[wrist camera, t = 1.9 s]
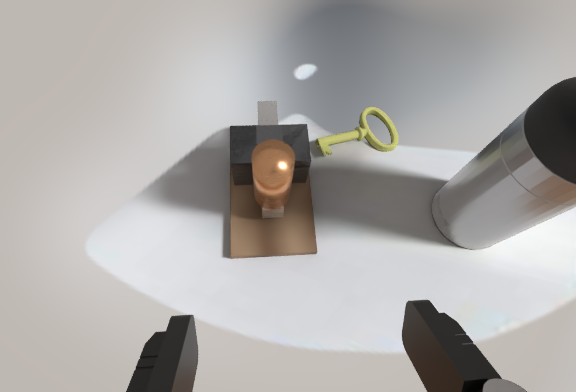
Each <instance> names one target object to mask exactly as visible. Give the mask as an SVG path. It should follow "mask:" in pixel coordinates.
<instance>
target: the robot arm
mask: <svg viewBox="0 0 576 392" xmlns="http://www.w3.org/2000/svg"><path fill="white" fill-rule="evenodd" d="M574 207H576V77H573V78H569V79H566V80H563V81H561V82H559V83H557V84H555V85H554V86H552V87H551V88H549V89H548V90H547V91H545V92H544V93H543V94H542V95H541V96H540V97H539V98H538V99H537V100H536V101H535V102H534V103H533V104H531V105H530V106H529V107H528V108H527V109H526V110H525V111H524V112H523V113H522V114H520V115H519V116H518V117H517V118H516V119H515V120H514V121H513V122H512V123H511V124H510V125H509V126H508V127H507V128H506V129H504V130H503V131H502V132H501V133H500V134H499V135H498V136H497V137H496V138H495V139H494V140H493V141H492V142H491V143H489V144H488V145H487V146H486V147H485V148H484V149H483V150H482V151H481V152H480V153H479V154H477V155H476V156H475V157H474V158H473V159H472V160H471V161H470V162H469V163H468V164H467V165H466V166H464V167H463V168H462V169H461V170H460V171H459V172H458V173H457V174H456V175H455V176H454V177H453V178H451V179H450V180H449V181H448V182H447V183H446V184H445V185H444V186H443V187H442V188H441V189H440V190H439V191H438V192H437V193H436V195H435V196H434V199H433V202H432V214H433V218H434V221H435V223H436V225H437V227H438V228H439V230H440V231H441V232H442V233H443V235H444V236H445V237H447V238H448V239H449V240H450V241H451V242H453V243H455V244H457V245H459V246H461V247H464V248H467V249H474V250H475V249H484V248H487V247H490V246H492V245H494V244H496V243H499V242H501V241H503V240H505V239H507V238H510V237H512V236H514V235H516V234H518V233H520V232H523V231H525V230H527V229H529V228H531V227H533V226H536V225H538V224H540V223H542V222H544V221H546V220H548V219H551V218H553V217H555V216H557V215H559V214H561V213H564V212H566V211H568V210H570V209H572V208H574ZM402 340H403V345H404V348H405V350H406V352H407V354H408V356H409V358H410V360H411V361H412V363H413V365H414V367H415V369H416V371H417V373H418V375H419V377H420V379H421V381H422V382H423V384H424V386H425V388H426V390H427V392H527V391H526V390H525V389H523V388H522V387H520V386H519V385H517V384H515V383H513V382H511V381H508V380H504V379H502V378H501V377H500V375H499V374H498V373H497V372H496V371H495V369H494V368H493V367H492V365H491V364H490V363H489V362H488V360H487V359H486V358H485V357H484V355H483V354H482V353H481V351H480V350H479V349H478V348H477V346H476V345H474V344H473V341H472V340H471V339H470V338H469V336H468V335H466V332H465V331H464V330H463V329H462V327H461V326H460V325H459V324H458V322H457V321H455V320H454V319H452V318H451V317H450V316H448V315H447V314H445V313H439V312H438V311H437V310H436V308H435V307H434V306H433V304H432V303H431V302H430V301H429V300H416V301H408V302H407V303H406V308H405V315H404V322H403V329H402ZM197 364H198V345H197V336H196V329H195V321H194V316H193V315H180V316H172V317H171V318H170V321H169V324H168V327H167V330H166V331H165V332H155V333H154V335H153V336H152V337H151V338H150V339H149V340H148V341H147V342H146V343H145V346H144V348H143V351H142V353H141V356H140V359H139V361H138V364H137V366H136V370H135V371H134V374H133V376H132V379H131V381H130V383H129V386H128V388H127V391H126V392H192V390H193V385H194V380H195V375H196V369H197Z"/></svg>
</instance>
